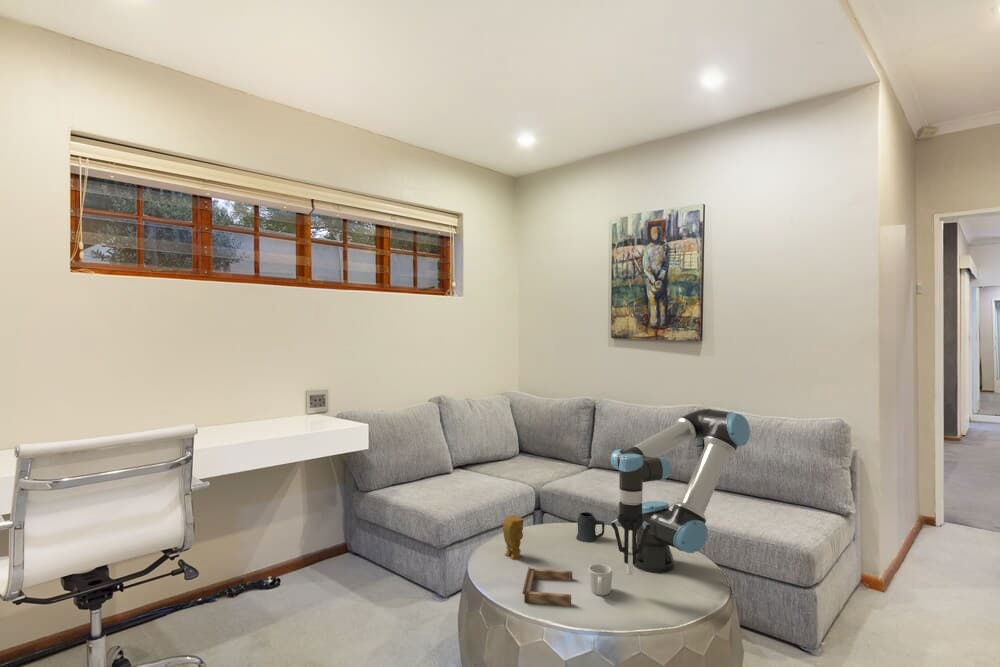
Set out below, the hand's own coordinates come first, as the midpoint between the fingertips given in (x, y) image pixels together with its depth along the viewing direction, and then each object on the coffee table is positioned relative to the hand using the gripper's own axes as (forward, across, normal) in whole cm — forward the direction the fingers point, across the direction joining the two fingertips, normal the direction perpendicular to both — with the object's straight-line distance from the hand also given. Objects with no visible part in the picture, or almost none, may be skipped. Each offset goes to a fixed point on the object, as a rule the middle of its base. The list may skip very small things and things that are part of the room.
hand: (629, 573), depth 181 cm
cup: (+8, +10, 0) cm, 13 cm away
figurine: (+8, +42, -26) cm, 51 cm away
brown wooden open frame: (+8, +26, 0) cm, 28 cm away
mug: (+8, +12, -47) cm, 50 cm away
